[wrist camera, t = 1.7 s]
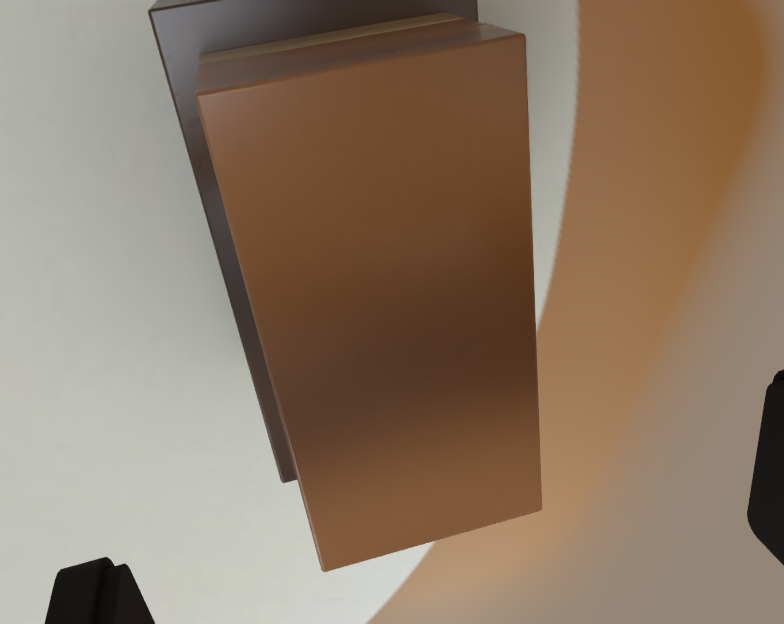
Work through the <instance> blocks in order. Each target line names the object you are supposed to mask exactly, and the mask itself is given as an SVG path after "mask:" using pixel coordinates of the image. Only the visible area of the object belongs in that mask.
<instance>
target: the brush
mask: <svg viewBox="0 0 784 624" xmlns="http://www.w3.org/2000/svg"><path fill="white" fill-rule="evenodd" d="M195 100H196V104H197V108H198V111H199V115H200V119H201V123H202V126H203V130H204V134H205V137H206V141H207V145H208V149H209V152H210V156H211V160H212V164H213V167H214V171H215V175H216V178H217V182H218V186H219V190H220V193H221V197H222V201H223V204H224V208H225V212H226V216H227V219H228V223H229V227H230V231H231V234H232V238H233V242H234V245H235V249H236V253H237V257H238V260H239V264H240V268H241V272H242V275H243V279H244V283H245V286H246V290H247V294H248V298H249V301H250V305H251V309H252V312H253V316H254V320H255V324H256V327H257V331H258V335H259V339H260V342H261V346H262V350H263V353H264V357H265V361H266V365H267V368H268V372H269V376H270V379H271V383H272V387H273V391H274V394H275V398H276V402H277V406H278V409H279V413H280V417H281V420H282V424H283V428H284V432H285V435H286V439H287V443H288V447H289V450H290V454H291V458H292V461H293V465H294V469H295V473H296V476H297V480H298V484H299V487H300V491H301V495H302V499H303V502H304V506H305V510H306V514H307V517H308V521H309V525H310V528H311V532H312V536H313V540H314V543H315V547H316V551H317V555H318V558H319V562H320V566H321V569H322V571H323V572H327V571H330V570H334V569H337V568H341V567H344V566H348V565H351V564H355V563H358V562H362V561H365V560H369V559H372V558H376V557H379V556H383V555H386V554H390V553H393V552H397V551H400V550H404V549H408V548H411V547H415V546H418V545H422V544H425V543H429V542H432V541H436V540H439V539H443V538H446V537H450V536H453V535H456V534H460V533H464V532H467V531H471V530H474V529H478V528H481V527H485V526H488V525H492V524H496V523H499V522H503V521H506V520H510V519H513V518H517V517H520V516H524V515H527V514H531V513H534V512H538V511H540V510H542V495H541V494H542V493H541V466H540V437H539V408H538V379H537V353H536V352H537V351H536V322H535V293H534V265H533V236H532V208H531V179H530V151H529V122H528V94H527V65H526V37H525V35H524V34H522V33H519V32H515V31H511V30H508V29H504V28H500V27H497V26H493V25H490V24H486V23H482V22H479V21H475V20H471V19H468V18H464V17H460V16H457V15H453V14H449V13H446V12H441V13H436V14H430V15H424V16H418V17H413V18H407V19H401V20H396V21H390V22H384V23H378V24H373V25H367V26H361V27H355V28H350V29H344V30H338V31H332V32H327V33H321V34H315V35H309V36H304V37H298V38H292V39H287V40H281V41H275V42H269V43H264V44H258V45H252V46H246V47H241V48H235V49H229V50H223V51H218V52H212V53H206V54H201V55H199V57H198V68H197V78H196V90H195Z"/></svg>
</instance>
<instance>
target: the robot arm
mask: <svg viewBox="0 0 784 624" xmlns="http://www.w3.org/2000/svg"><path fill="white" fill-rule="evenodd" d="M747 516H748V522H749V524H750V527H751V529H752V531H753V532H754V534H755V535H756V537H757V538H758V539H759V540H760V541H761V542H762V543H763V544H764V545H765V546H766V547H767V549H769V550H770V552H771V553H772V554H773V555H774V556H775V557H776V558H777V559H778V560H779V561H780V562H781V563H782V564H783V565H784V370H782V371H778V373H777V374H776V375H775V376H774V379H773V382H772V384H770V385H769V386H768V388H767V391H766V396H765V402H764V409H763V416H762V422H761V428H760V434H759V441H758V447H757V453H756V460H755V466H754V473H753V480H752V485H751V492H750V498H749V505H748V511H747ZM45 624H155V622H154V620H153V618H152V616H151V614H150V611H149V609H148V607H147V605H146V603H145V601H144V598H143V596H142V594H141V592H140V590H139V588H138V585H137V583H136V581H135V579H134V577H133V575H132V573H131V570H130V569H129V567H128V565H126V564H122V565H118V566H114V564H113V563H112V561H111V560H110V559H109V558H108V557H104V558H100V559H97V560H93V561H89V562H86V563H82V564H78V565H75V566H71V567H68V568H64V569H61V570H60V571H59V572H58V573H57V576H56V579H55V582H54V586H53V591H52V595H51V599H50V603H49V608H48V612H47V616H46V620H45Z"/></svg>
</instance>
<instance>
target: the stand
mask: <svg viewBox="0 0 784 624" xmlns="http://www.w3.org/2000/svg"><path fill="white" fill-rule="evenodd" d="M441 12H446V13H449V14H453V15H457V16H460V17H464V18H468V19H471V20H475V21H478V9H477V0H157V2H156V3H155V4H154V5H153V6H152V7H151V8H150V9H149V10H148V14H149V18H150V21H151V25H152V28H153V32H154V35H155V39H156V42H157V46H158V50H159V53H160V57H161V60H162V64H163V67H164V71H165V74H166V78H167V81H168V85H169V88H170V92H171V95H172V99H173V102H174V106H175V109H176V113H177V116H178V120H179V123H180V127H181V130H182V134H183V137H184V141H185V144H186V148H187V151H188V155H189V159H190V162H191V166H192V169H193V173H194V176H195V180H196V183H197V187H198V190H199V194H200V197H201V201H202V204H203V208H204V211H205V215H206V218H207V222H208V225H209V229H210V232H211V236H212V239H213V243H214V246H215V250H216V253H217V257H218V260H219V264H220V268H221V271H222V275H223V278H224V282H225V285H226V289H227V292H228V296H229V299H230V303H231V306H232V310H233V313H234V317H235V320H236V324H237V327H238V331H239V334H240V338H241V341H242V345H243V348H244V352H245V355H246V359H247V362H248V366H249V369H250V373H251V377H252V380H253V384H254V387H255V391H256V394H257V398H258V401H259V405H260V408H261V412H262V415H263V419H264V422H265V426H266V429H267V433H268V436H269V440H270V443H271V447H272V450H273V454H274V457H275V461H276V464H277V468H278V471H279V475H280V478H281V481H282V483H286V482H290V481H293V480H297V476H296V473H295V469H294V465H293V461H292V458H291V454H290V450H289V447H288V443H287V439H286V435H285V432H284V428H283V424H282V420H281V417H280V413H279V409H278V406H277V402H276V398H275V394H274V391H273V387H272V383H271V379H270V376H269V372H268V368H267V365H266V361H265V357H264V353H263V350H262V346H261V342H260V339H259V335H258V331H257V327H256V324H255V320H254V316H253V312H252V309H251V305H250V301H249V298H248V294H247V290H246V286H245V283H244V279H243V275H242V272H241V268H240V264H239V260H238V257H237V253H236V249H235V245H234V242H233V238H232V234H231V231H230V227H229V223H228V219H227V216H226V212H225V208H224V204H223V201H222V197H221V193H220V190H219V186H218V182H217V178H216V175H215V171H214V167H213V164H212V160H211V156H210V152H209V149H208V145H207V141H206V137H205V134H204V130H203V126H202V123H201V119H200V115H199V111H198V108H197V104H196V100H195V90H196V78H197V68H198V57H199V55H201V54H206V53H212V52H218V51H223V50H229V49H235V48H241V47H246V46H252V45H258V44H264V43H269V42H275V41H281V40H287V39H292V38H298V37H304V36H309V35H315V34H321V33H327V32H332V31H338V30H344V29H350V28H355V27H361V26H367V25H373V24H378V23H384V22H390V21H396V20H401V19H407V18H413V17H418V16H424V15H430V14H436V13H441Z"/></svg>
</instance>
